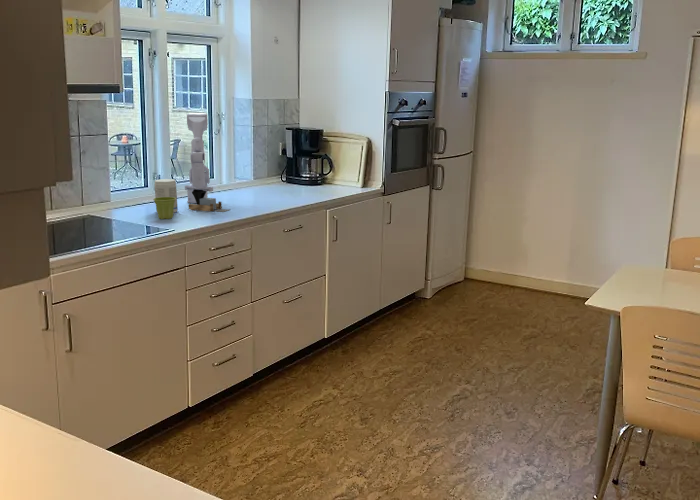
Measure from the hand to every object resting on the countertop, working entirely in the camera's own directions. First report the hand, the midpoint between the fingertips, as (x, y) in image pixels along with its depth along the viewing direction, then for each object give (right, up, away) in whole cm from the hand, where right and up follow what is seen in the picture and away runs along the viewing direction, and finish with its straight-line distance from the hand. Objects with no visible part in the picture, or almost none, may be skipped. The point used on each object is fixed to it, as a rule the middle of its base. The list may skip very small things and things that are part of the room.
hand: (199, 205), depth 327 cm
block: (+4, -2, -1) cm, 5 cm away
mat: (+11, -3, -4) cm, 12 cm away
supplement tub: (-13, -4, -9) cm, 16 cm away
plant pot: (-10, -7, -24) cm, 27 cm away
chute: (+3, -2, -1) cm, 3 cm away
